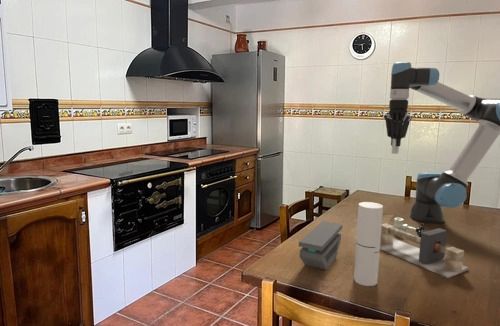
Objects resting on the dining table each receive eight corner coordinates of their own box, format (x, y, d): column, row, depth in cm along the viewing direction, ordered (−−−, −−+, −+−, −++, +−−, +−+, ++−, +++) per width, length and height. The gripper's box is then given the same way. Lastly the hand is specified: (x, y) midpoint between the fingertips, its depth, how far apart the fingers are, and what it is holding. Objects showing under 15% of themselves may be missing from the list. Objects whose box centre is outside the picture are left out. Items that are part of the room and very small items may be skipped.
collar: (418, 260, 131) (421, 232, 129) (436, 255, 136) (439, 228, 134) (426, 264, 128) (429, 235, 126) (444, 258, 133) (447, 230, 132)
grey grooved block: (320, 278, 120) (321, 246, 118) (297, 272, 123) (298, 241, 122) (340, 251, 141) (342, 224, 140) (321, 247, 145) (322, 220, 143)
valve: (390, 234, 161) (420, 240, 154) (391, 219, 160) (421, 225, 153) (395, 230, 166) (423, 236, 159) (396, 216, 165) (425, 221, 158)
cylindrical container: (350, 275, 122) (355, 202, 118) (371, 275, 122) (377, 201, 118) (358, 286, 115) (364, 208, 111) (381, 285, 115) (387, 208, 111)
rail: (370, 245, 148) (372, 226, 147) (390, 239, 154) (392, 221, 153) (447, 278, 121) (450, 255, 120) (468, 270, 127) (470, 248, 126)
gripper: (380, 99, 163) (377, 152, 167) (406, 99, 152) (402, 156, 156) (391, 99, 167) (388, 151, 171) (418, 99, 156) (413, 154, 160)
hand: (394, 153), depth 163 cm, fingers closed
